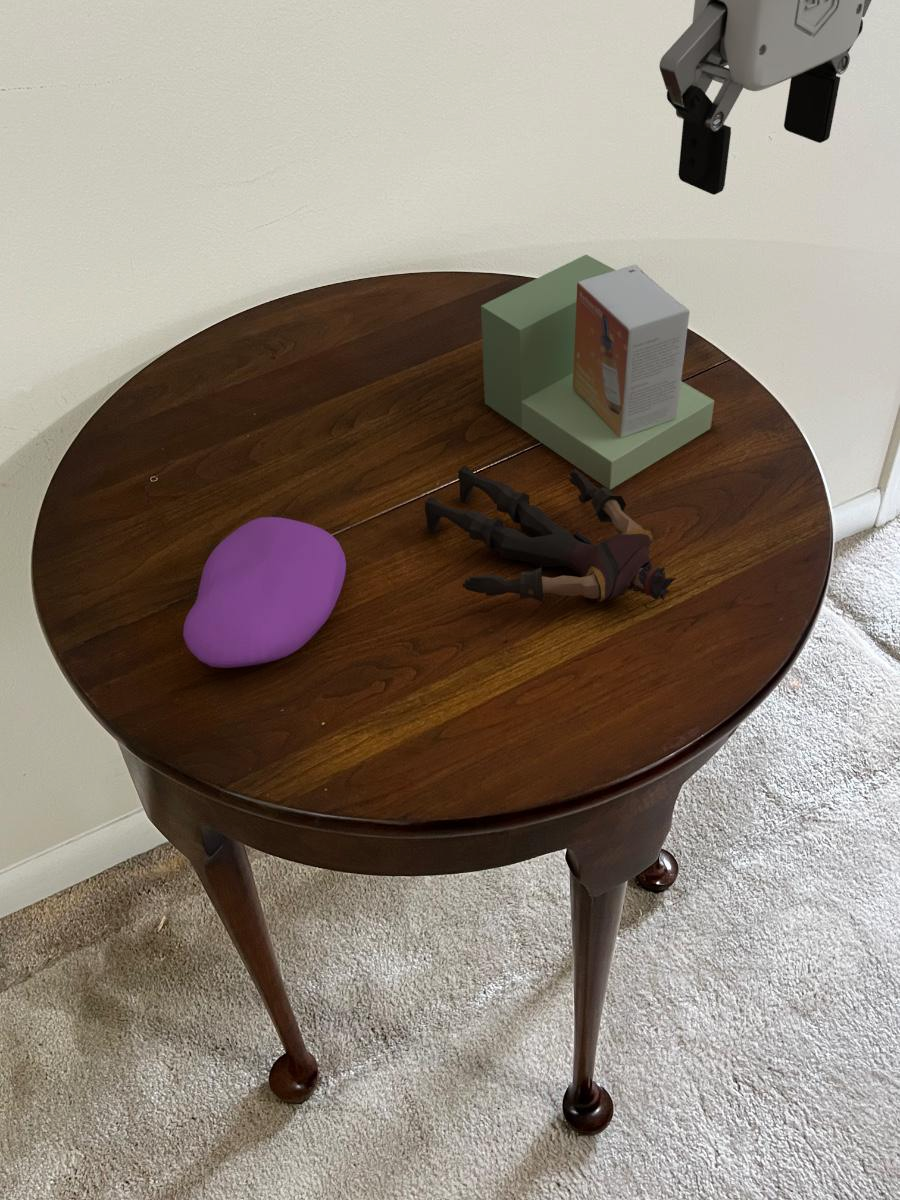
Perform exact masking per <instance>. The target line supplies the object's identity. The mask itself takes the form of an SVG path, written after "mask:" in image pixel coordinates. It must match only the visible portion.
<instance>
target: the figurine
mask: <svg viewBox="0 0 900 1200" xmlns="http://www.w3.org/2000/svg"><path fill="white" fill-rule="evenodd" d="M457 479H458V483H459V497H460V500H461V502H462V503H465V504H466V503H467V502H468V501H469V500H470V498H471V496H472V493H473V490H474V488H478V489H479V490H481V491H482V492H483V493H485V494H486V495H487V496H488V498H489V499H490V500H491V501H492V502H493V504H495V505H496V510H497V511H499V512H501V513H507V514H508V515H509V517H510V519H511V520H512V522H513V523H515V524H518V525H519V526H520V530H521V531H519V530H517V529H515V528H512V527H505V521H504V520H502V519H500V518H490V517H489V516H488V515H486V514H485V513H483V512H481V511H478V512H476V511H474V510H472V509H463V510H462V509H458V508H454V507H450V506H447V505H445V504H444V503H442V502H440V501H439V500H437V499H436V498H435V497H433V496H430V497H429V498H427V500H425V501H424V512H425V517H426V527H427V529H428V530H429V531H430V533H434V534H435V533H436V532H437V531H439V529H440V525H441V519H442V518H445V519H447V520H449V521H450V522H452V523H453V524H455V526H457V527H459V528H460V529H461V530H463V531H464V532H466V533H468V538H469V539H471V540H473V541H482V542H483V544H484V545H485V547H486V548H487V549H488V550H492V551H494V550H495V549H496V550H497V551H498V553H499V555H500V556H501V557H502V558H504V559H510V560H517V561H523V562H526V563H527V562H528V563H530V564H533V565H537V566H539V568H537V569H534V570H533V571H521V572H520V574H519V577H517V578H514V579H510V580H507V579H506V578H505V577H504V576H503V575H500V574H499V575H498V574H484V575H471V576H469V578H467V579H464V582H463V583H462V588H464V589H465V590H466V591H471V592H474V593H478V594H485V595H486V597H492V596H493V597H494V596H501V595H505V594H519V599H520V600H521V599H528V598H532V599H534V600H535V601H539V602H540V603H542V604H544V594H554V595H559V596H567V597H568V596H569V597H572V596H574V597H575V596H582V597H584V598H586V599H592V600H594V599H595V601H596V602H602V601H604V600H608V601H609V600H611V599H613V598H615V597H621V596H625V594H626V593H627V592H628V591H633V592H640V594H645V596H650V597H651V598H653V600H655V601H656V600H658V599H659V598H660V599H661V600H662V601H665V596H666V595H667V594H669V593H671V592H672V590H669V589H668V588H669V587H670V585H671V584H672V583H673V582H674V581H675V580H676V577H670V578H669V577H668V578H666V577H667V575H666V571H665V569H666V566H664V567H657V568H656V567H654V566H653V565H652V564H651V558H650V557H649V554H650V546H651V543H652V541H653V535H652V532H651V531H650V530H648V529H644V527H642V526H641V525H640V524H638V523H637V522H635V521H634V520H633V519H632V518H631V517H630V516H628V514H626V513H625V512H624V511H625V508H626V506H627V504H626V501H625V499H624V498H623V496H622V495H618V494H614V493H612V491H611V490H609V489H608V488H606V487H600V488H598V487H597V486H596V485H594V484H593V483H592V482H591V481H590V480H589V479H588V478H587V477H586V476H584V475H583V474H582V472H580V471H579V470H577V469H576V468H573V469H571V470H570V472H569V478H568V481H569V482H570V483H571V484H572V485H573V486H575V487H576V488H577V489H578V491H579V492H580V493H579V494H578V496H577V498H578V500H579V502H580V503H581V504H585V503H587V502H589V501H591V505H592V508H593V509H594V510H595V514H596V516H597V518H598V520H599V522H600V523H612V524H613V527H614V529H615V530H616V532H617V534H615V535H613V536H611V537H609V538H608V539H606V540H604V541H601V542H598V543H595V544H594V545H593V544H592V541H591V540H590V539H588V537H586V536H585V535H583V534H582V533H580V532H576V533H574V534H573V535H572V533H570V531H568V530H567V529H566V528H564V527H563V526H561V525H559V524H557V523H555V522H553V521H552V519H551V518H550V517H549V516H548V515H547V514H546V512H545V511H543V510H542V508H541V507H540V506H537V505H532V504H531V503H530V495H529V494H527V493H525V492H517V491H516V490H515V488H514V487H513V486H512V485H510V484H506V483H505V482H503V481H501V480H495V479H490V478H486V477H483V476H481V475H479V474H477V473H475V472H473V470H471V469H470V468H469V467H468V466H467V465H464V464H463V466H461V467H460V468H459V469H458V475H457ZM542 567H565V568H570V569H571V570H574V571H575V572H577V573H578V574H579V575H580V576H581V577H579V576H573V575H560V576H559V575H558V576H556V577H548V576H544V575H543V572H542V571H543V570H542Z"/></svg>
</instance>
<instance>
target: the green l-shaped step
mask: <svg viewBox="0 0 900 1200" xmlns="http://www.w3.org/2000/svg"><path fill="white" fill-rule="evenodd" d="M615 270H616V269H615V268H612V267H611V266H609V265H607V264H605V263H604V262H601V261H600V260H597V259H596V258H594V257H592V256H590V255H588V254H584V255H581V256H580V257H578V258H576V259H573V260H572V261H570V262H568V263H566V264H564V265H561V266H559V267H558V268H554V269H553V270H551V271H549V272H547V273H545V274H542V275H541V276H539V277H536V278H535V279H533V280H531V281H529V282H527V283H524V284H522V285H520V286H518V287H516V288H514V289H512V290H510V291H508V292H506V293H505V294H504V293H503V294H502V295H500V296H498V297H496V298H494V299H492V300H490V301H488V302H486V303H484V304H482V305H480V312H481V313H480V316H481V317H480V318H481V343H482V365H483V366H482V368H483V369H482V371H483V391H484V393H483V394H484V395H483V396H484V404H485V405H487V406H488V407H490V409H492V410H493V411H495V412H496V413H498V414H499V415H501V416H502V417H504V418H506V420H508V421H509V422H511V423H512V424H513V425H515V426H517V427H518V428H520V429H522V430H523V431H524V432H526V433H527V434H528V435H530V436H531V437H533V438H534V439H535V440H537V441H538V442H539V443H541V444H543V446H545V447H547V448H549V449H550V450H551V451H553V452H554V453H556V454H557V455H558V456H560V457H562V458H563V459H564V460H566V461H567V462H568V463H570V464H572V466H574V467H575V468H577V469H579V470H580V471H581V472H583V473H584V474H586V475H587V476H589V477H590V478H591V479H593V480H595V482H597V483H598V484H601V485H602V486H603V487H604V488H608V489H609V490H610V491H611V490H613V489H614V488H615V487H617V486H619V485H621V484H622V483H624V482H625V481H628V480H629V479H631V478H632V477H634V476H636V475H637V474H639V473H640V472H642V471H643V470H645V469H647V468H648V467H650V466H651V465H653V464H656V463H657V462H659V461H660V460H661V459H663V458H666V456H668V455H670V454H672V453H673V452H674V451H677V450H678V449H679V448H681V447H683V446H684V445H686V444H688V443H690V442H691V441H693V440H695V439H696V438H698V437H699V436H701V435H703V434H704V433H706V432H707V431H709V430H710V429H711V428H712V420H713V414H714V407H715V400H714V399H713V398H711V397H710V396H708V395H706V394H705V393H702V392H701V391H699V390H698V389H696V388H693V387H692V386H691V385H689V384H688V383H686V382H684V381H682V380H681V384H680V393H679V400H678V408H677V417H676V418H675V419H673V420H671V421H668V422H665V423H662V424H659V425H656V426H653V427H651V428H648V429H645V430H642V431H639V432H636V433H634V434H631V435H628V436H625V437H623V438H619V437H618V436H617V435H616V434H615V432H614V431H613V430H612V429H611V428H610V427H609V426H608V425H607V423H606V422H605V421H604V420H603V419H602V418H601V417H600V416H599V415H598V414H597V413H596V412H595V410H594V409H593V408H592V407H591V406H590V405H589V404H588V403H587V402H586V401H585V400H584V399H583V398H582V397H581V396H580V395H579V394H578V393H577V392H576V391H575V390H574V389H573V367H574V345H575V321H576V301H577V283H578V282H579V281H582V280H585V279H589V278H592V277H595V276H599V275H602V274H605V273H609V272H612V271H615Z"/></svg>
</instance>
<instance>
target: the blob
mask: <svg viewBox="0 0 900 1200" xmlns="http://www.w3.org/2000/svg"><path fill="white" fill-rule="evenodd" d="M346 570H347V561H346V555H345V553H344V551H343V548H342V546H341V545H340V542H339V541H338V540H337V538H335V537H334V536H333V535H332V534H331V533H330V532H328V531H326V530H325V529H323V528H321V527H318V526H316V525H314V524H311V523H307V522H302V521H298V520H294V519H291V518H285V517H279V516H265V517H258V518H255V519H252V520H250V521H248V522H246V523H245V524H243V525H241V526H239V527H238V528H237V529H236V530H234V531H233V532H232V533H230V534H229V535H228V536H227V537H225V538H224V539H223V540H222V541H221V542H220V543H219V544H217V545H216V547H215V548H214V549H213V550H212V552H211V553H210V554H209V556H208V558H207V560H206V562H205V564H204V566H203V570H202V574H201V576H200V577H201V578H200V582H199V587H198V592H197V596H196V600H195V603H194V604H193V606H192V607H191V608H190V610H189V612H188V613H187V615H186V618H185V621H184V623H183V632H182V633H183V634H182V635H183V636H182V637H183V640H184V642H185V645H186V647H187V648H188V650H189V651H190V652H191V653H192V654H193V655H194V656H195V658H197V660H198V661H200V662H201V663H204V664H205V665H207V666H209V667H212V668H222V669H230V668H243V667H250V666H257V665H261V664H262V665H263V664H266V663H271V662H274V661H278V660H280V659H284V658H286V657H288V656H290V655H293V654H294V653H295V652H298V650H299V649H301V648H302V647H303V646H304V645H305V644H306V643H308V642H309V641H310V640H311V639H312V637H314V636H315V635H316V634H317V633H318V631H319V630H320V629H321V628H322V627H323V626H324V624H325V623H326V622H327V620H328V619H329V618H330V616H331V614H332V611H333V610H334V608H335V606H336V603H337V602H338V599H339V596H340V594H341V591H342V587H343V585H344V581H345V577H346V572H347V571H346Z"/></svg>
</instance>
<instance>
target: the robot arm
mask: <svg viewBox="0 0 900 1200" xmlns="http://www.w3.org/2000/svg"><path fill="white" fill-rule="evenodd" d="M871 3H872V0H694V6H693V15H692V23H691V24H690V26H689V27H688V28H686V30H685V31H684V32H683V33H682V34H681V35H680V36H679V37H678V39H677V40H676V41H675V42H674V43H673V44H672V45H671V46H670V48H669V49H668V50H667V51H666V52H665V53H664V54H663V55H662V57H661V58H660V61H659V64H658V65H659V71H660V75H661V77H662V80H663V84H664V87H665V89H666V90H667V91H666V99H667V101H668V102H669V104H670V105H671V106H672V108H674V109H675V115H676V116H677V118H679V119H682V130H681V140H680V152H679V163H678V178H679V180H680V181H681V182H683V183H686V184H687V185H690V186H692V187H694V188H697V189H699V190H701V191H704V192H706V193H708V194H709V195H710V194H711V195H713V196H714V195H717V194H719V193H721V192H723V191H724V189H725V184H726V175H727V169H728V161H729V153H730V145H731V144H730V142H731V135H732V127H731V126H728V125H726V124H725V122H726V120H727V119H728V116H729V115H730V114H731V111H732V110H733V107H734V106H735V104H736V103H737V101H738V99H739V96H740V95H741V93H742V91H743V90H744V89H745V90H748V91H751V92H760V91H763V90H766V89H769V88H771V87H774V86H776V85H779V84H781V83H783V82H785V81H788V80H790V82H789V90H788V95H787V101H786V109H785V115H784V123H783V128H784V130H785V131H787V132H789V133H791V134H794V135H797V136H799V137H802V138H805V139H807V140H810V141H813V142H815V143H819V144H821V143H824V142H826V141H827V140H829V138H830V136H831V130H832V127H833V122H834V121H833V120H834V114H835V109H836V104H837V98H838V93H839V87H840V83H841V76H839V75H843V74H844V73H845V72H846V71H847V69H848V68H849V65H850V61H851V56H850V53H849V52H850V50H851V49H852V48H853V46H854V44H855V42H856V41H857V40H858V37H860V34H861V33H862V31H863V29H864V21H863V18H865V16H866V14H867V11H868V10H869V7H870V5H871ZM726 66H728V67H726ZM713 81H714V82H718V83H720V84H722V85H721V87H720V88H719V90H718V92H717V94H716V96H715V98H714V99H713V101H712V100H711V99H710V98H709V96H708V95H707V94H706V93H707V91H708V89H709V88H710V86H711V84H712V83H713Z"/></svg>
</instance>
